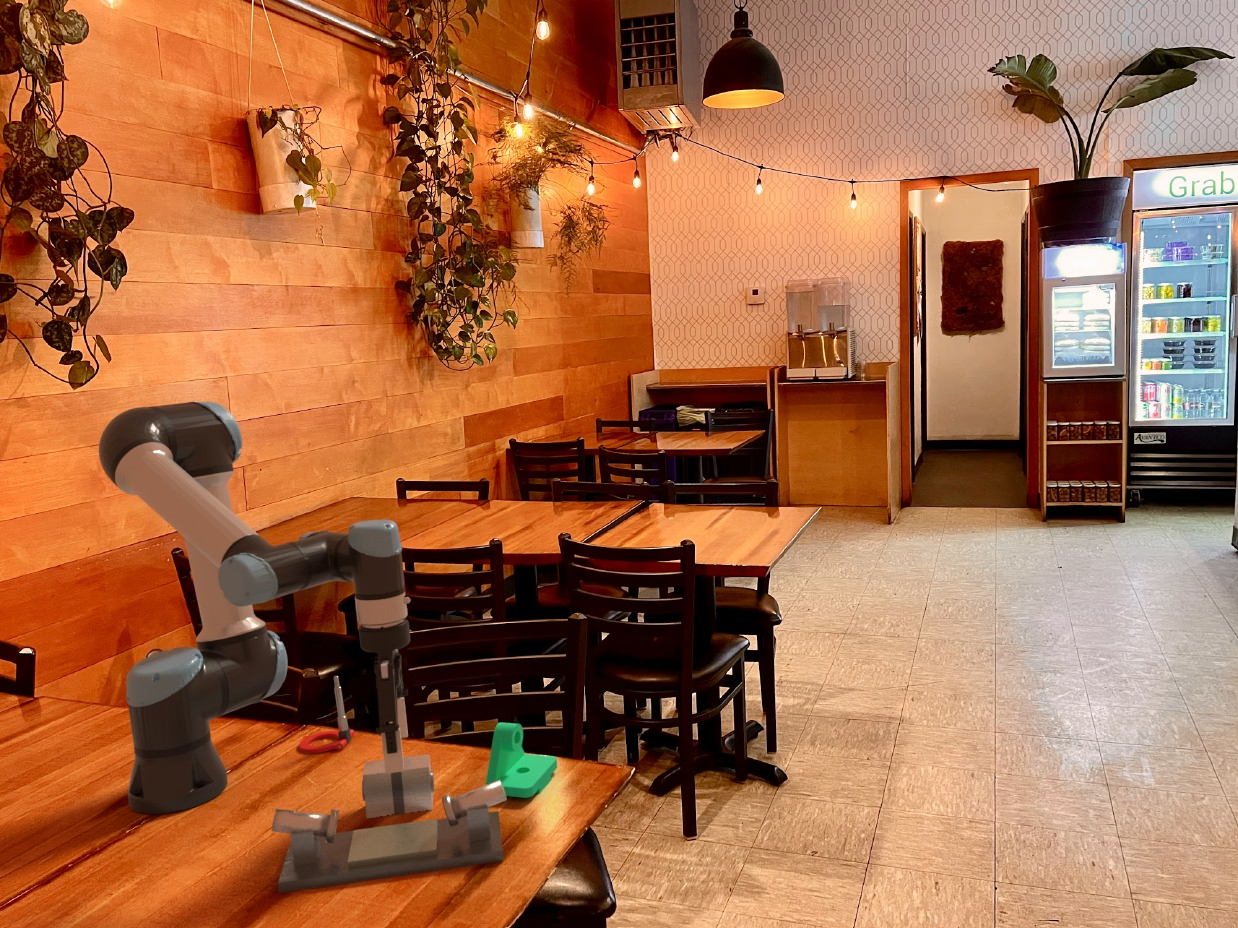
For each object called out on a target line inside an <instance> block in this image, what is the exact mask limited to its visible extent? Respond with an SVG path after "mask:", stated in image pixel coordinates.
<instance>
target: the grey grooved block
mask: <svg viewBox="0 0 1238 928" xmlns="http://www.w3.org/2000/svg"><path fill="white" fill-rule="evenodd" d="M430 755H431V754H430V753H427V754H421V755H420V754H419V755H411V756H403V762H404V771H402V772H395V773H388V774H386V773H385V764H384V759H379V760H378V759H377V760H371V761H370V760H368V761H365V762H364V767H363V773H362V781H361V791H362V792H361V794H362V800H363V802H364V805H365V816H366V819H372V818H373V819H374V818H379V817H380V816H382V817H387V815H389V816H396V815H395V814H401V815H404V814H403V813H405V814H411V812H413V813H419V812H418V811H420V812H427V811H426V810H428V811H432V810H434V809H433V807H434V805H433V804H434V803H433V802H434V792H435V777H434V770H432V768H431V756H430ZM392 814H394V815H392ZM389 816H388V817H389ZM380 818H381V817H380Z"/></svg>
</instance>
